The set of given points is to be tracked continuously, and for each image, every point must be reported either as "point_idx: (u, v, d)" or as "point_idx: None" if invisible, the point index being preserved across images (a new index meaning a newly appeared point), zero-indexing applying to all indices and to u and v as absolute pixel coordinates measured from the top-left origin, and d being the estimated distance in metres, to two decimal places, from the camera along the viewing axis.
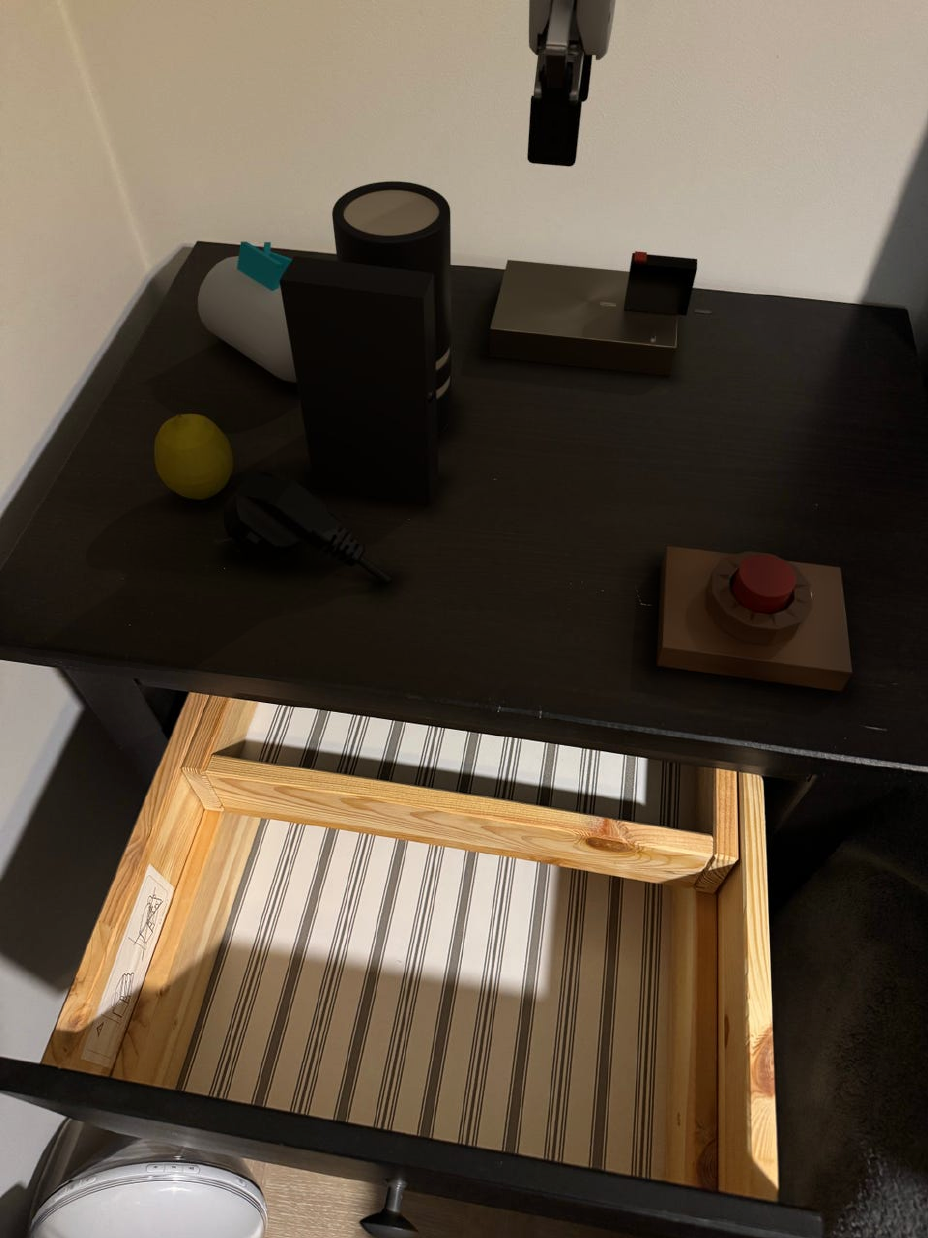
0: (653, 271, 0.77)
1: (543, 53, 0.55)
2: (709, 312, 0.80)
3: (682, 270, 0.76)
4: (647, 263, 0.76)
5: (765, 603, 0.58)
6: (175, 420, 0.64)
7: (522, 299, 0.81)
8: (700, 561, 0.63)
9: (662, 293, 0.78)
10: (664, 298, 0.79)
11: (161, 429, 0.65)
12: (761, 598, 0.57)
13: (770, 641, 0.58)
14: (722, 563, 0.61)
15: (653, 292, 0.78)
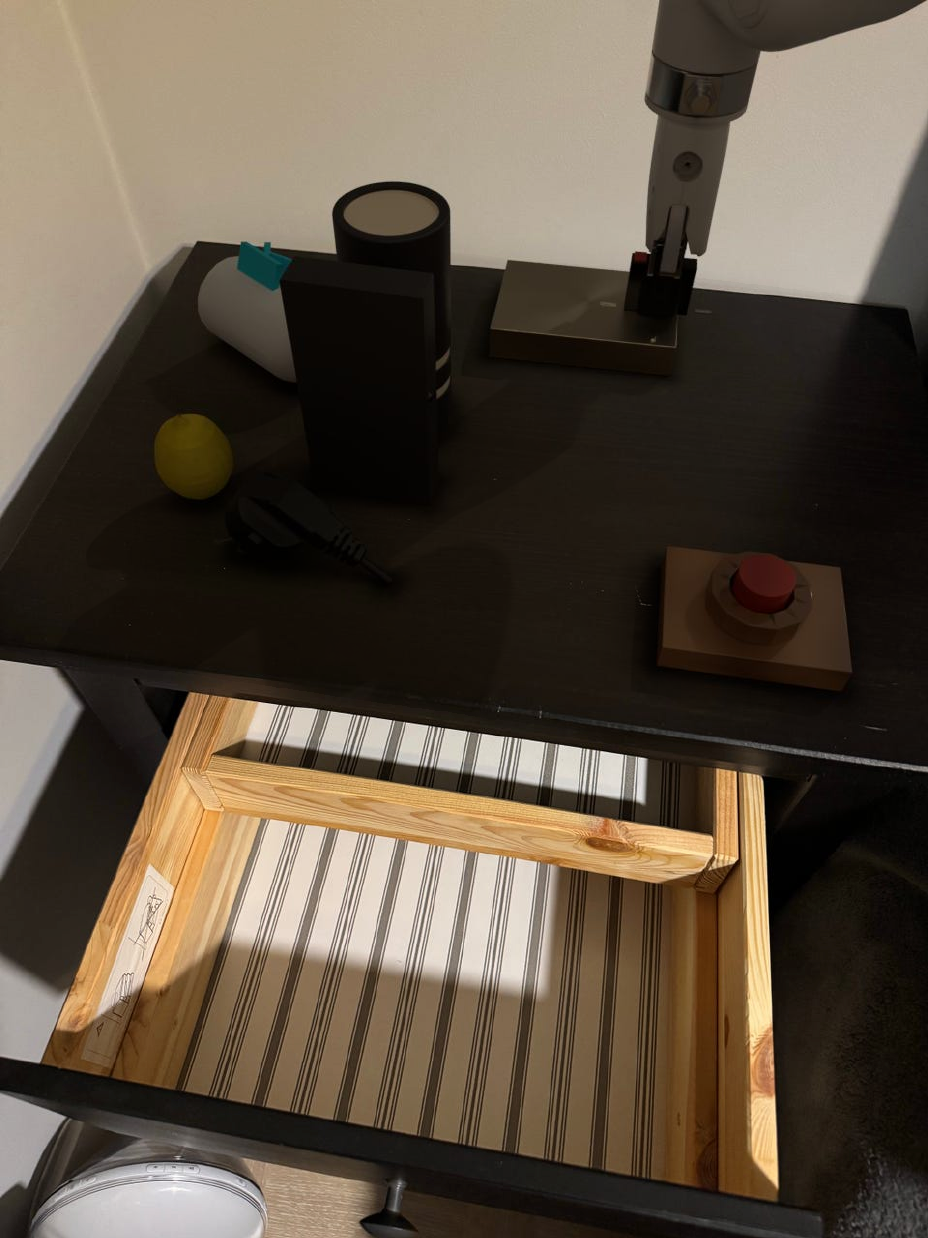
0: None
1: (655, 251, 0.73)
2: (709, 312, 0.80)
3: (682, 270, 0.76)
4: (647, 263, 0.76)
5: (765, 603, 0.58)
6: (175, 420, 0.64)
7: (522, 299, 0.81)
8: (700, 561, 0.63)
9: None
10: None
11: (161, 429, 0.65)
12: (761, 598, 0.57)
13: (770, 641, 0.58)
14: (722, 563, 0.61)
15: None
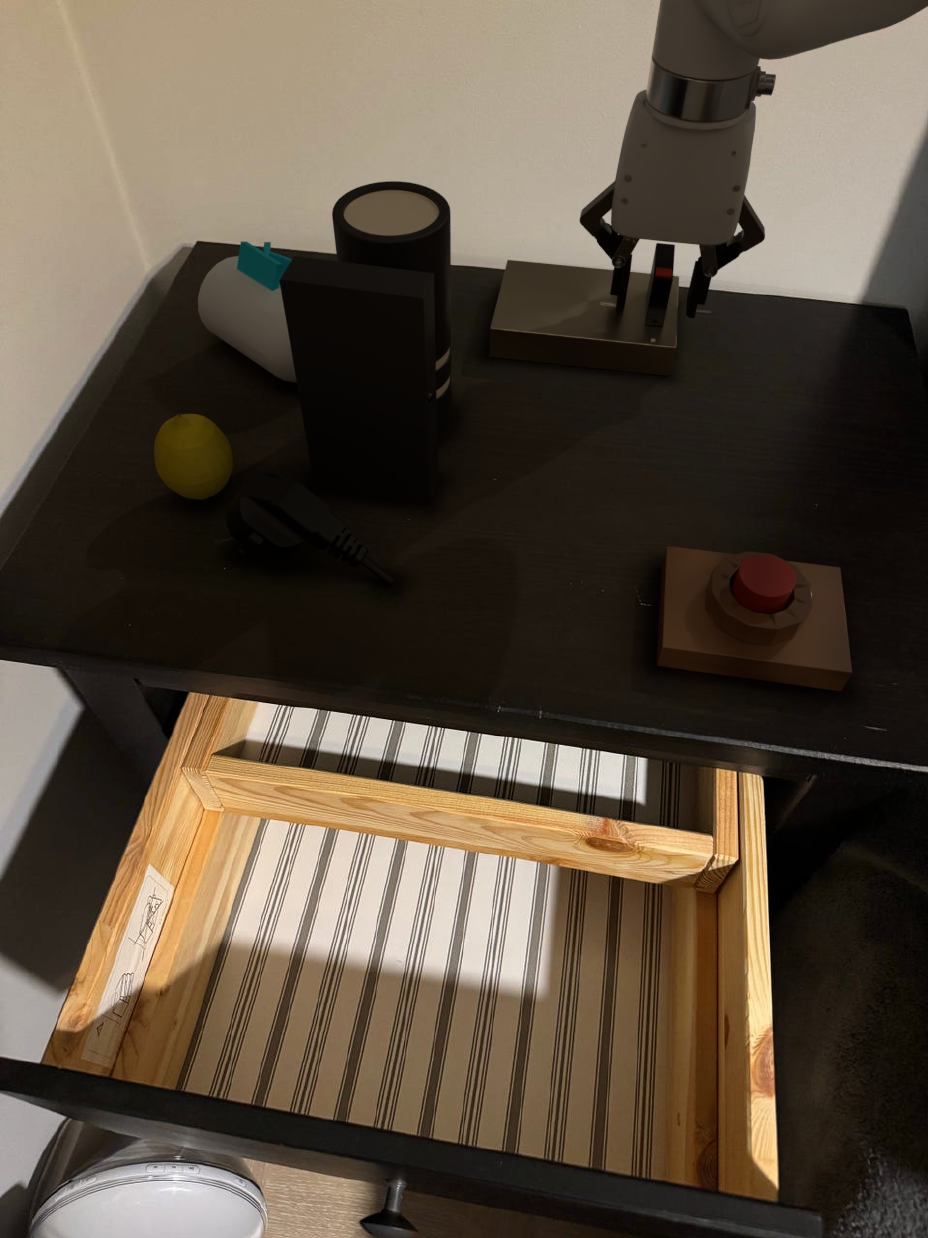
0: (672, 272, 0.77)
1: (715, 246, 0.74)
2: (709, 312, 0.80)
3: None
4: (671, 270, 0.76)
5: (765, 603, 0.58)
6: (175, 420, 0.64)
7: (522, 299, 0.81)
8: (700, 561, 0.63)
9: None
10: None
11: (161, 429, 0.65)
12: (761, 598, 0.57)
13: (770, 641, 0.58)
14: (722, 563, 0.61)
15: None
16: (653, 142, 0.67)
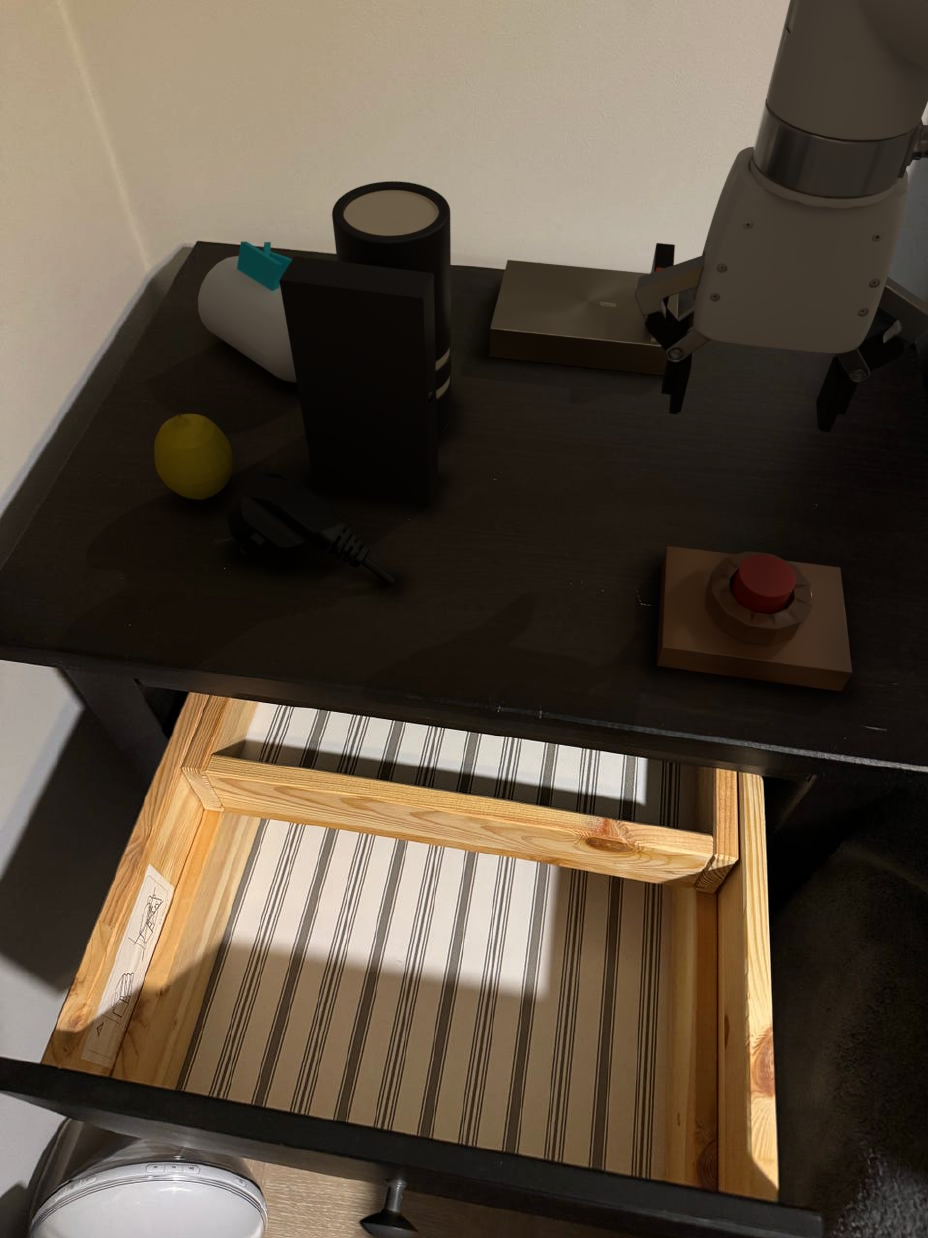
0: None
1: None
2: None
3: None
4: None
5: (765, 603, 0.58)
6: (175, 420, 0.64)
7: (522, 299, 0.81)
8: (700, 561, 0.63)
9: None
10: None
11: (161, 429, 0.65)
12: (761, 598, 0.57)
13: (770, 641, 0.58)
14: (722, 563, 0.61)
15: None
16: (762, 222, 0.48)
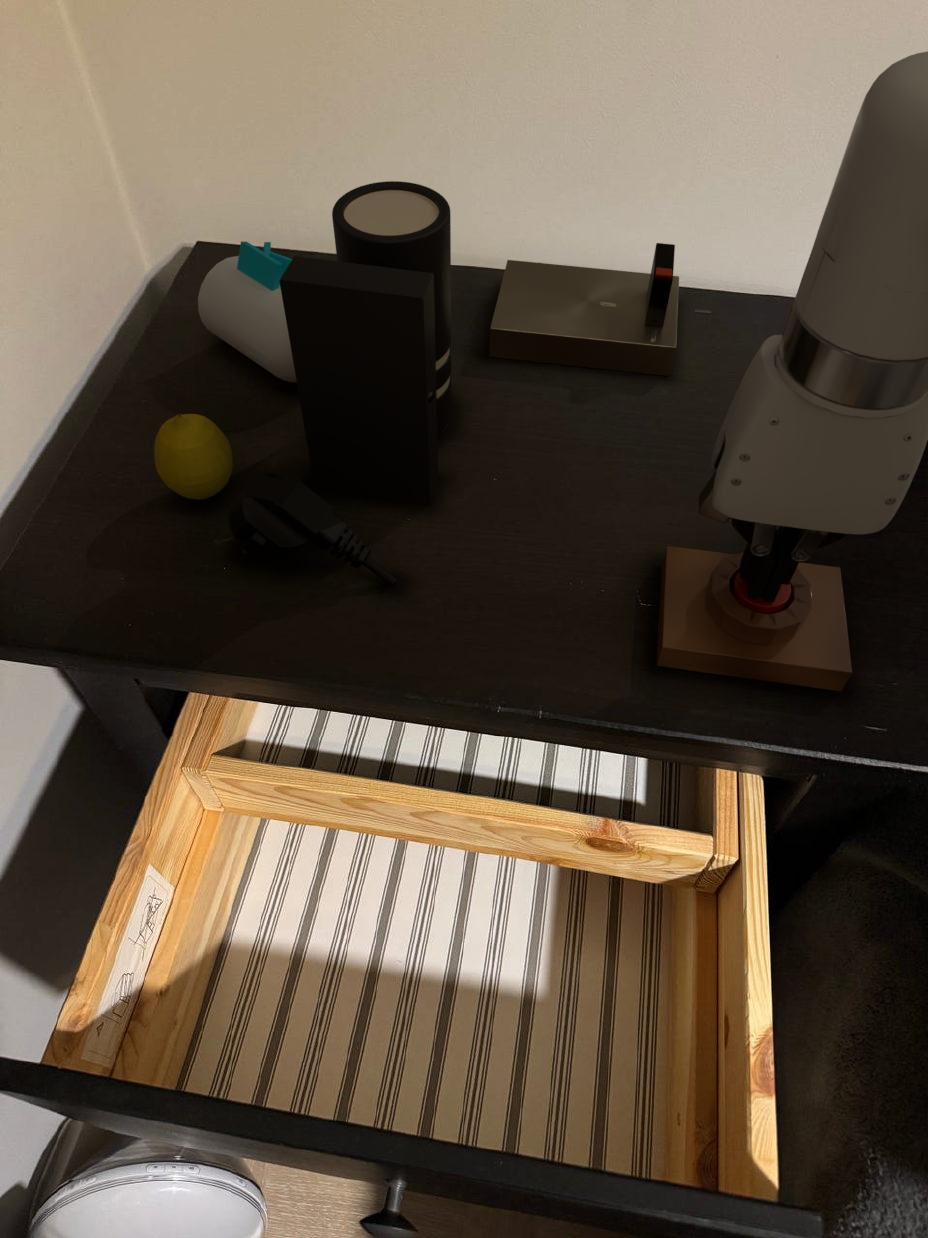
0: (672, 272, 0.77)
1: None
2: (709, 312, 0.80)
3: None
4: (671, 270, 0.76)
5: None
6: (175, 420, 0.64)
7: (522, 299, 0.81)
8: (700, 561, 0.63)
9: None
10: None
11: (161, 429, 0.65)
12: (757, 608, 0.58)
13: (770, 641, 0.58)
14: (722, 563, 0.61)
15: None
16: (789, 420, 0.46)
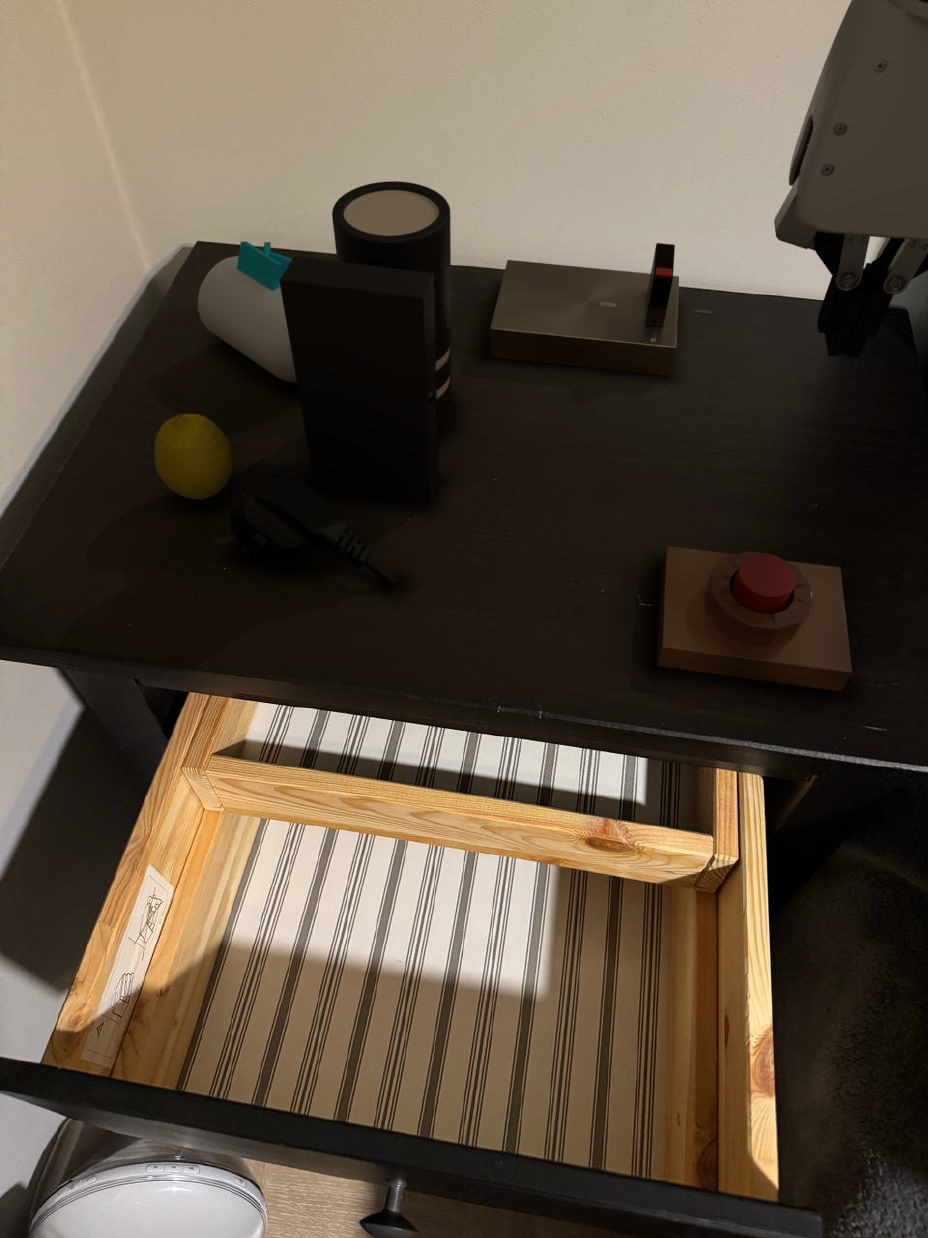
0: (672, 272, 0.77)
1: None
2: (709, 312, 0.80)
3: None
4: (671, 270, 0.76)
5: (765, 603, 0.58)
6: (175, 420, 0.64)
7: (522, 299, 0.81)
8: (700, 561, 0.63)
9: None
10: None
11: (161, 429, 0.65)
12: (761, 598, 0.57)
13: (770, 641, 0.58)
14: (722, 563, 0.61)
15: None
16: (899, 61, 0.38)
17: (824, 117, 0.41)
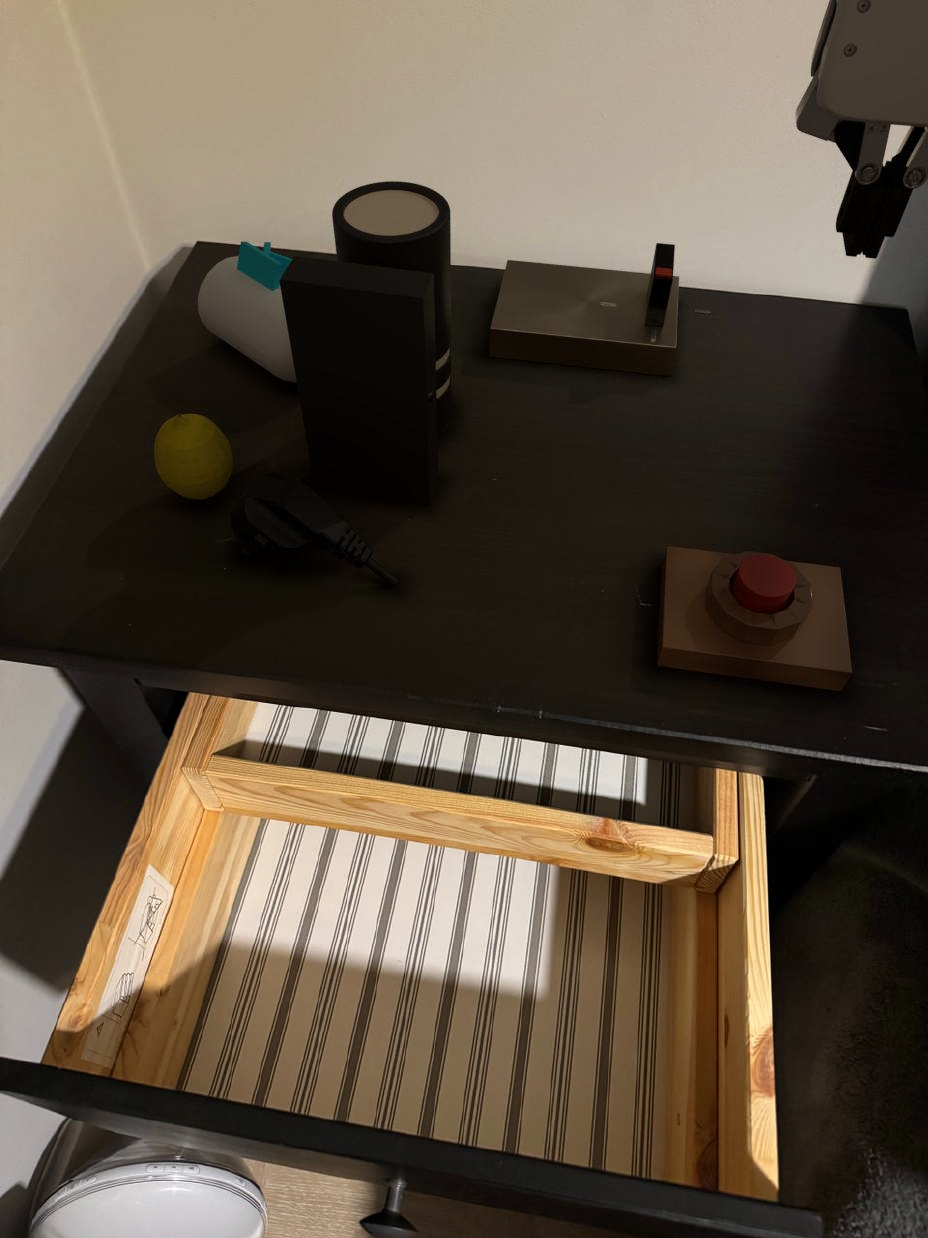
0: (672, 272, 0.77)
1: None
2: (709, 312, 0.80)
3: None
4: (671, 270, 0.76)
5: (765, 603, 0.58)
6: (175, 420, 0.64)
7: (522, 299, 0.81)
8: (700, 561, 0.63)
9: None
10: None
11: (161, 429, 0.65)
12: (761, 598, 0.57)
13: (770, 641, 0.58)
14: (722, 563, 0.61)
15: None
16: None
17: None
